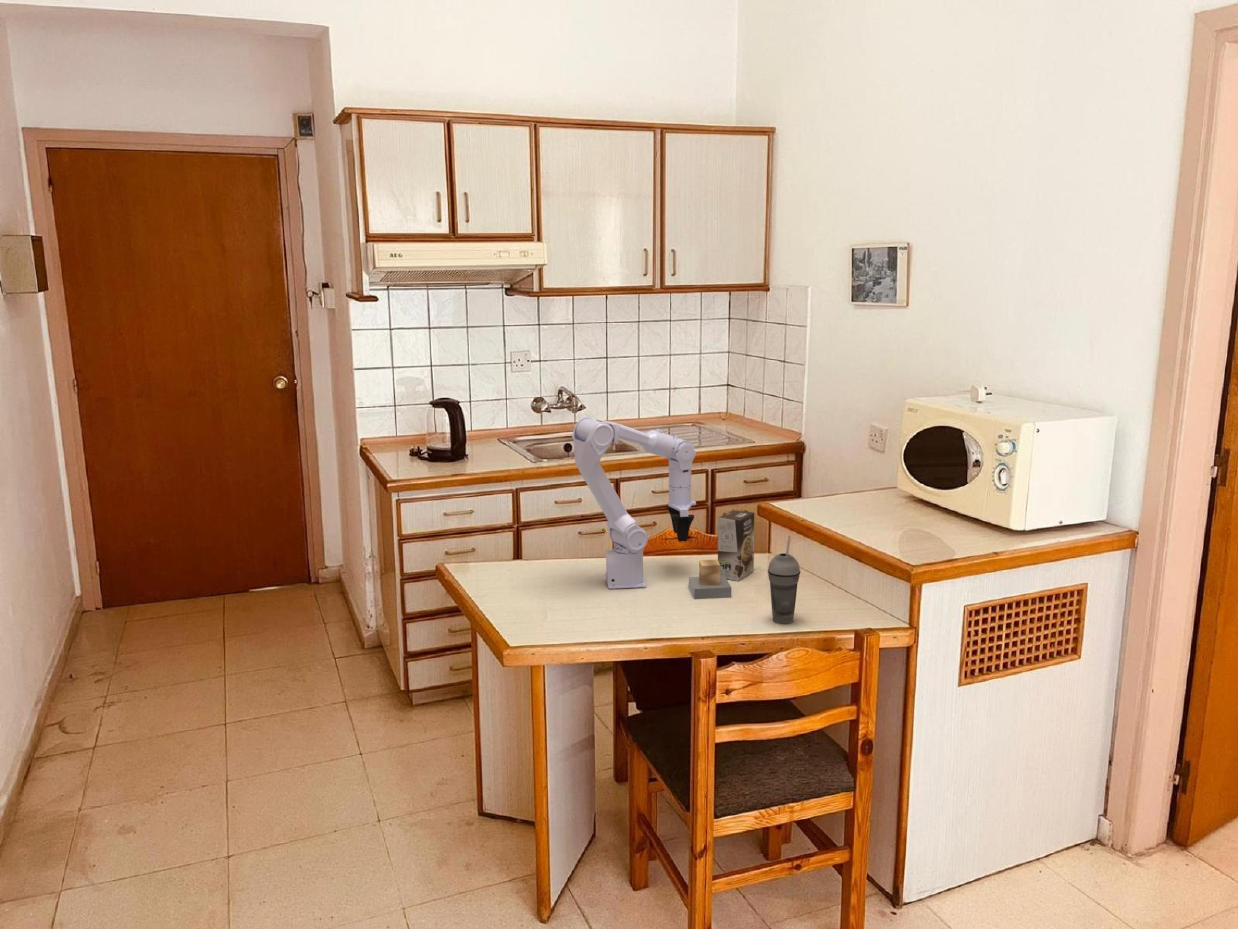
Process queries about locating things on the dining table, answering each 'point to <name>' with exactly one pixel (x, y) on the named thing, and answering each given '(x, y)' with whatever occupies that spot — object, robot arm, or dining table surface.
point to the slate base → (709, 589)
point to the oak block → (709, 572)
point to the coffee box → (736, 544)
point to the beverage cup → (783, 586)
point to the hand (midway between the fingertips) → (680, 536)
